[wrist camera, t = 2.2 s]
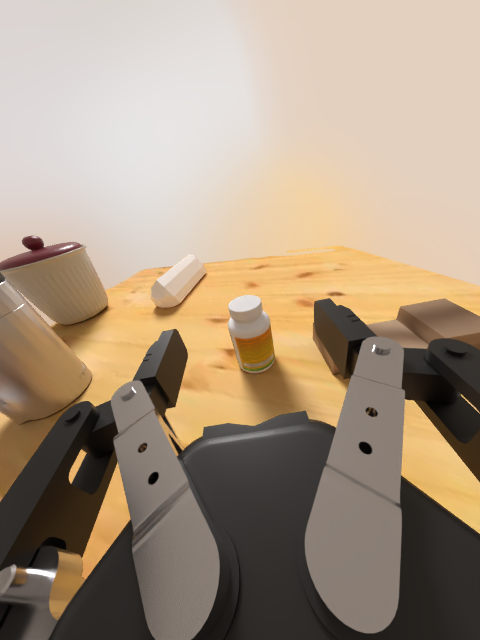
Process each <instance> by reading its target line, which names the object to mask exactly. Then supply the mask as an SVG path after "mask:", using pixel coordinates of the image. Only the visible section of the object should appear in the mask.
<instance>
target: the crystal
mask: <svg viewBox="0 0 480 640" xmlns="http://www.w3.org/2000/svg"><path fill="white" fill-rule="evenodd" d="M205 273H206V269H205V267H204V265H203V264H202V263H201V262H200V261H199V260H198V259H197V258H196V257H195V256H194V255H192V254H189V255H188V256H186V257H185V258H184V259H182V260H181V261H180V262H179V263H177V264H176V265H175V266H174V267H172V268H171V269H170V270H169V271H167V272H166V273H165V274H164V275H162V276H161V277H160V278H159V279H157V280H156V282H155V283H154V285H153V286H152V288H151V300H152V301H153V303H154V304H155V305H156V306H158V307H160V308H169V307H174V306H176V305H178V304H179V303H181V301H182V300H183V299H184V298H185V297H186V296H187V294H188V293H189V292H190V291H191V290H192V288H193V287H194V286H195V285H196V284H197V283H198V281H199V280H200V279H201V278H202V277H203V275H204V274H205Z"/></svg>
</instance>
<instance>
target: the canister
mask: <svg viewBox="0 0 480 640" xmlns="http://www.w3.org/2000/svg"><path fill="white" fill-rule="evenodd" d="M22 244H23V245H24V246H25V247H26V248H28V249H30V250H32V251H29V252H26V253H22V254H19V255H16V256H14V257H11V258H8V259H6V260H4V261H2V262H1V263H0V272H1V274H2V275H3V276H4V277H5V279H7V280H8V281H9V282H10V283H11V284H12V285H13V286H14V287H15V288H16V289H17V290H19V291H20V292H21V293H22V294H23V295H24V296H25V297H26V298H27V299H29V300H30V301H31V302H32V303H33V304H34V305H35V306H36V307H38V308H39V309H40V310H41V311H42V312H43V313H45V314H46V315H47V316H48V317H49V318H51V319H52V320H53V321H55V322H57V323H59V324H63V325H68V324H74V323H78V322H81V321H84V320H86V319H89V318H91V317H93V316H95V315H97V314H98V313H100V312H101V311H102V310H103V309H105V307H106V306H107V304H108V298H107V294H106V292H105V290H104V288H103V285H102V283H101V281H100V279H99V277H98V275H97V273H96V271H95V269H94V267H93V265H92V262H91V260H90V258H89V257H88V254H87V252H86V251H85V248H86V245H80V244H79V243H76V242H68V243H61V244H56V245H52V246H47V247H43V246H44V243H43V241H42V239H41V238H39V237H37V236H28V237H25V238H23V240H22Z"/></svg>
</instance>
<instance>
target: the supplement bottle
mask: <svg viewBox="0 0 480 640" xmlns="http://www.w3.org/2000/svg"><path fill="white" fill-rule="evenodd" d="M228 308H229V312H230V316H231V318H230V320H229V322H228V329H229V333H230V336H231V340H232V343H233V347H234V350H235V354H236V357H237V361H238V364H239V366H240V367H241V368H242V369H243V370H244V371H246V372H249V373H261V372H264V371H266V370H268V369H269V368H270V367H271V366H272V365H273V363H274V360H275V354H274V347H273V340H272V333H271V325H270V319H269V316H268V315H267V314H266V313H265V312H264V311H263V310H262V303H261V299H260V298H259V297H257V296H254V295H245V296H240V297H237V298H235V299H234V300H232V301H231V302H230V303H229V306H228Z"/></svg>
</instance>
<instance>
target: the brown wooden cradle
mask: <svg viewBox="0 0 480 640" xmlns="http://www.w3.org/2000/svg"><path fill="white" fill-rule="evenodd" d="M367 326H368V327H369V328H370V329H371V330H372V331H373V332H374V333H375V334H376V335H377V336H378V337H385V338H389V339H392V340H394V341H396V342H397V343H399V344H400V345H401V346H402V347H403V348H422V349H427V348H428V345H429V343H430V342H431V341H432V340H435V339H440V338H448V339H455V340H459V341H463V342H465V343H468V344H470V345H472V346H474V347H475V348H477V349H478V350H480V316H478V315H476V314H474V313H472V312H470V311H468V310H466V309H464V308H462V307H460V306H458V305H456V304H454V303H452V302H450V301H448V300H447V299H439V300H434V301H429V302H423V303H418V304H412V305H407V306H401V307H400V309H399V312H398V316H397V319H396V320H391V321H385V322H380V323H374V324H369V325H367ZM313 340H314V341H315V343H316V345H317V347H318V349H319V350H320V352H321V354H322V356H323V358H324V359H325V361H326V363H327V365H328V367H329V368H330V370H331V372H332V374H339V373H340V371H339V370H338V368H337V367H336V365H335V363H334V362H333V360H332V358H331V357H330V355H329V353H328V352H327V350H326V349H325V347H324V345H323V344H322V342H321V340H320V339H319V337H318V335H317V334H316V331H315V327H314V323H313Z"/></svg>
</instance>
